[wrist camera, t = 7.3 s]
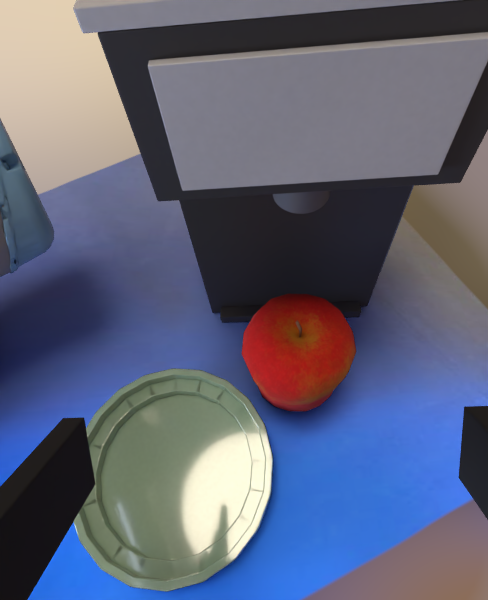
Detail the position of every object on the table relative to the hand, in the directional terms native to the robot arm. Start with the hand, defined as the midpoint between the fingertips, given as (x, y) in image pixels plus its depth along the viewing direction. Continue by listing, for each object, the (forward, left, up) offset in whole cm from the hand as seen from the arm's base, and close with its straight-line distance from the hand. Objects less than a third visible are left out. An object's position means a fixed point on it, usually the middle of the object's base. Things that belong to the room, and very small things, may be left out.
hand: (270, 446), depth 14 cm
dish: (-6, +6, -22) cm, 24 cm away
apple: (+7, +8, -22) cm, 25 cm away
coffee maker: (+11, +14, -22) cm, 28 cm away
